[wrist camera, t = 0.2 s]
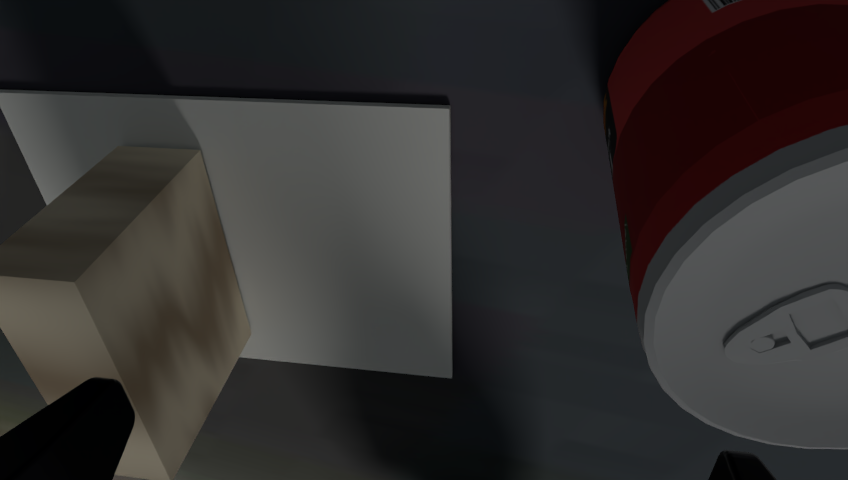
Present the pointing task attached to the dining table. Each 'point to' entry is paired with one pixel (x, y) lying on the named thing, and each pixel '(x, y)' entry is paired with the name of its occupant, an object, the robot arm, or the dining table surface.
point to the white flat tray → (293, 210)
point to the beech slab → (130, 297)
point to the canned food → (739, 210)
